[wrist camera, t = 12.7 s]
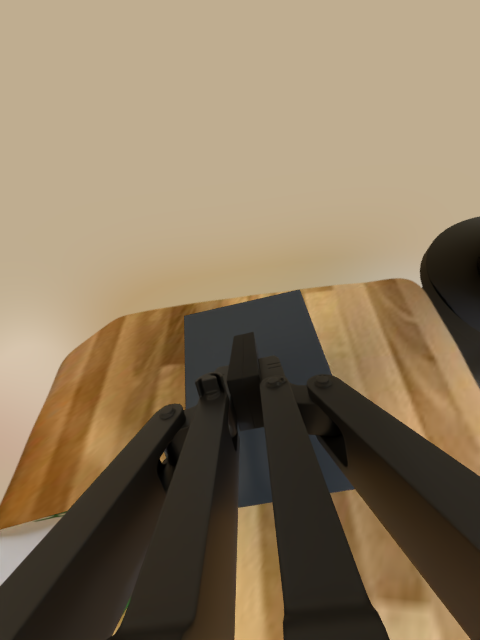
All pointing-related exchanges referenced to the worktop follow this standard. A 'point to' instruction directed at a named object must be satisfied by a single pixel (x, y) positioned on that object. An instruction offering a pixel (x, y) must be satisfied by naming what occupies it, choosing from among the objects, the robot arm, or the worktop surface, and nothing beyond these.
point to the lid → (272, 339)
